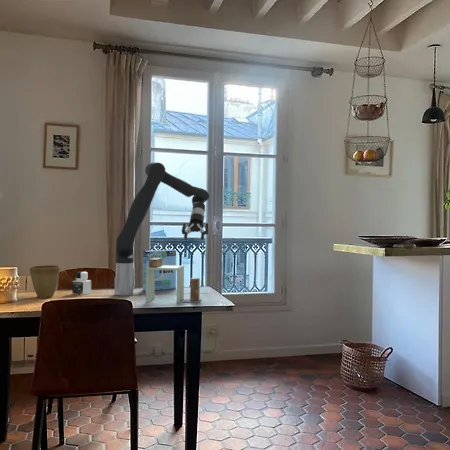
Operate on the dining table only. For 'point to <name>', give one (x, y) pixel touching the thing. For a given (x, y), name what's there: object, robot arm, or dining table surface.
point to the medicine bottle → (81, 284)
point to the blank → (194, 289)
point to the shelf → (151, 281)
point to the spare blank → (155, 262)
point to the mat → (191, 301)
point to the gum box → (162, 277)
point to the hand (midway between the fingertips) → (193, 238)
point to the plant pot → (45, 279)
